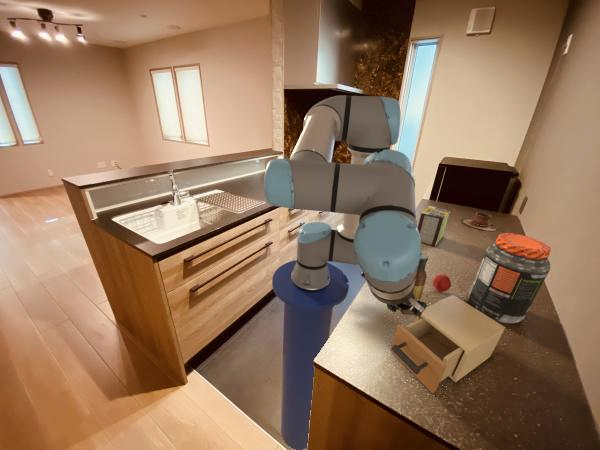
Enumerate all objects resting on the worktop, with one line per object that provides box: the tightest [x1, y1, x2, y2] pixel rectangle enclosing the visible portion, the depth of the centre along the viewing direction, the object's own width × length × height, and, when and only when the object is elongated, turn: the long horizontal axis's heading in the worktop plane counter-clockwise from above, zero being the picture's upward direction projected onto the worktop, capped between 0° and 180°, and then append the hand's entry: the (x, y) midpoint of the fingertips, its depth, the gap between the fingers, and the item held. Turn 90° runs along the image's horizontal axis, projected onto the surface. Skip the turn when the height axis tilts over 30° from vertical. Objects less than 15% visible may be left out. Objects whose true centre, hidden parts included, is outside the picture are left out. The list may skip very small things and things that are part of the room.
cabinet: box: [414, 294, 506, 383], centre depth 67 cm, size 16×14×11 cm
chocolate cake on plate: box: [462, 212, 497, 232], centre depth 152 cm, size 18×18×7 cm
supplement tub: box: [468, 232, 552, 324], centre depth 79 cm, size 16×16×26 cm
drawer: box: [390, 318, 465, 394], centre depth 62 cm, size 19×13×9 cm, turn 118°
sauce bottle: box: [413, 252, 429, 301], centre depth 80 cm, size 7×6×20 cm
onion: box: [432, 273, 452, 293], centre depth 90 cm, size 6×6×8 cm
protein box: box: [417, 205, 451, 247], centre depth 129 cm, size 10×15×16 cm
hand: (393, 305), depth 60 cm, fingers closed
